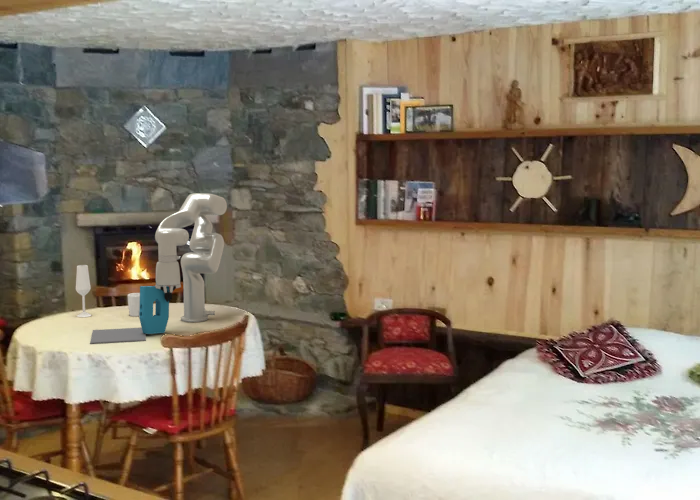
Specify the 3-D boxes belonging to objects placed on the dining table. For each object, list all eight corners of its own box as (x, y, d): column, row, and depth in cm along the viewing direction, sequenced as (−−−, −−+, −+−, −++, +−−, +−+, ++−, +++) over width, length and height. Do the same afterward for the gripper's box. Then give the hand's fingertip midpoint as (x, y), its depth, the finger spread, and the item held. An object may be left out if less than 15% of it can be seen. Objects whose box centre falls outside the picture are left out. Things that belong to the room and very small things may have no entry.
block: (143, 334, 322) (144, 286, 322) (138, 332, 326) (139, 286, 326) (169, 332, 330) (170, 286, 330) (164, 331, 333) (164, 285, 333)
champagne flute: (86, 317, 357) (84, 267, 354) (73, 316, 359) (71, 266, 356) (94, 314, 364) (92, 265, 360) (82, 313, 365) (80, 264, 362)
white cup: (148, 314, 365) (148, 294, 364) (136, 317, 358) (135, 296, 357) (137, 312, 369) (136, 292, 368) (124, 315, 363) (123, 294, 361)
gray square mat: (145, 328, 337) (145, 327, 337) (145, 340, 316) (145, 339, 316) (92, 331, 331) (92, 330, 331) (90, 344, 310) (90, 342, 310)
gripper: (184, 257, 331) (185, 298, 333) (149, 258, 326) (150, 300, 329) (186, 259, 323) (186, 302, 326) (149, 260, 319) (150, 303, 322)
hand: (168, 301), depth 327 cm, fingers closed
